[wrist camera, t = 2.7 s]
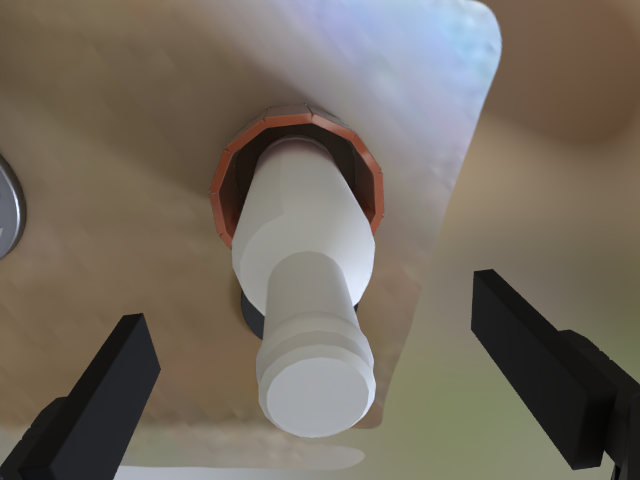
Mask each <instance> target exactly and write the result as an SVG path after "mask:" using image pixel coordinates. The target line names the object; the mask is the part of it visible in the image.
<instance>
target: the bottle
mask: <svg viewBox="0 0 640 480" xmlns="http://www.w3.org/2000/svg"><path fill="white" fill-rule="evenodd" d="M374 251H375V242H374V239H373V235H372V232H371V228H370V225H369V222H368V220H367V218H366V217H365V215H364V213H363V211H362V209H361V208H360V206H359V204H358V202H357V201H356V199H355V197H354V195H353V193H352V192H351V190H350V188H349V186H348V185H347V183H346V181H345V179H344V177H343V176H342V174H341V172H340V170H339V168H338V167H337V165H336V161H335V159H334V158H333V156H332V155H331V154H330V152H329V151H328V150H327V148H326V147H325V146H324V145H323V144H321V143H320V142H318V141H316V140H315V139H313V138H312V137H308V136H304V135H299V134H294V135H287V136H282V137H280V138H279V139H277V140H275V141H273V142H271V143H270V144H269V145H268V146H267V148H266V149H265V150H264V151H263V152H262V153H261V155H260V156H259V158H258V161H257V164H256V167H255V170H254V176H253V179H252V182H251V185H250V188H249V191H248V195H247V198H246V201H245V204H244V207H243V210H242V213H241V216H240V219H239V222H238V225H237V228H236V231H235V234H234V237H233V240H232V266H233V269H234V271H235V273H236V276H237V278H238V280H239V282H240V285H241V287H242V289H243V291H244V294H245V295H246V297H247V298H248V300H249V301H250V302H251V303H252V304H253V305H254V306H255V307H256V308H257V309H258V310H259V311H260V312H261V313H262V314H263V316H265V321H264V332H263V342H262V344H261V346H260V349H259V351H258V353H257V357H256V380H257V382H258V384H259V404H260V406H261V408H262V410H263V412H264V414H265V416H266V418H268V419H269V420H270V421H271V422H272V423H273V424H274V425H276V426H277V427H278V428H279V429H282V430H284V431H286V432H289V433H291V434H294V435H297V436H303V437H313V438H318V437H324V436H331V435H334V434H336V433H339V432H341V431H343V430H345V429H348V428H350V427H352V426H353V425H354V424H355V423H356V422H358V421H359V420H360V419H361V418H362V417H363V416H365V415H366V413H367V411H368V410H369V408H370V406H371V404H372V403H373V401H374V396H375V388H376V383H375V379H374V376H373V364H374V359H373V356H372V353H371V350H370V347H369V344H368V340H367V338H366V337H365V336H364V334H363V333H362V332H361V331H360V328H359V324H358V321H357V317H356V314H355V310H354V307H353V306H354V305H356V304H357V303H358V302H359V300H360V298H361V296H362V294H363V292H364V290H365V288H366V286H367V284H368V282H369V280H370V277H371V274H372V269H373V261H374Z"/></svg>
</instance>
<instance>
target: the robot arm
mask: <svg viewBox="0 0 640 480" xmlns="http://www.w3.org/2000/svg"><path fill="white" fill-rule="evenodd" d="M25 221H26V205H25V199H24V195H23V192H22V189H21V186H20V184H19V181H18V179H17V178H16V176H15V174H14V172H13V171H12V169H11V167H10V166H9V165H8V163H7V162H6V161H5V159H4V158H3V157H2V156H1V155H0V259H2V258H3V257H5V256H6V255H7V254H8V253H10V252H11V251H12V250H13V249H14V247H15V246H16V245H17V243H18V242H19V240H20V238H21V236H22V233H23V231H24V227H25ZM471 330H472V331H473V333H474V334H475V335H476V337H477V338H478V340H479V341H480V342H481V344H482V345H483V346H484V348H485V349H486V351H487V352H488V353H489V355H490V356H491V358H492V359H493V360H494V362H495V363H496V364H497V366H498V367H499V369H500V370H501V371H502V373H503V374H504V375H505V377H506V378H507V380H508V381H509V382H510V384H511V385H512V387H513V388H514V389H515V391H516V392H517V394H518V395H519V396H520V398H521V399H522V400H523V402H524V403H525V404H526V406H527V407H528V409H529V410H530V412H531V413H532V414H533V416H534V417H535V418H536V420H537V421H538V422H539V424H540V425H541V427H542V428H543V429H544V431H545V432H546V434H547V435H548V436H549V438H550V439H551V440H552V442H553V443H554V445H555V446H556V447H557V449H558V450H559V451H560V453H561V454H562V456H563V457H564V459H565V460H566V461H567V463H568V464H569V465H570V467H571V468H572V470H578V469H586V468H593V467H600V465H601V461H602V457H603V452H604V450H605V452H606V453H607V454H608V455H609V456H610V458H611V459H612V460H613V461H614V462H615V465H614V469H613V473H612V477H611V480H640V384H639V383H638V382H636V381H635V380H634V379H633V378H632V377H631V376H629V375H628V374H627V373H626V372H625V371H624V370H622V369H621V368H620V367H619V366H618V365H617V364H616V363H615V362H614V361H612V360H610V359H609V357H608V356H607V355H606V354H604V353H603V352H602V351H599V348H597V346H595V345H594V344H593V343H592V342H591V341H590V340H588V339H587V338H586V337H584V336H582V335H580V334H578V333H576V332H574V331H572V330H563V331H557V330H556V328H554V326H553V325H551V324H550V323H549V322H548V321H547V320H546V319H545V318H544V317H543V316H542V315H541V314H540V313H539V312H538V311H537V310H536V309H534V308H533V307H532V306H531V305H530V304H529V303H528V302H527V301H526V300H525V299H524V298H523V297H522V296H521V295H520V294H519V293H518V292H516V291H515V290H514V289H513V288H512V287H511V286H510V285H509V284H508V283H507V282H506V281H505V280H504V279H503V278H502V277H501V276H499V275H498V274H497V273H496V272H495V271H494V270H493V269H490V270H481V271H474V279H473V299H472V320H471ZM160 370H161V368H160V365H159V362H158V359H157V356H156V353H155V349H154V346H153V343H152V340H151V337H150V334H149V330H148V327H147V324H146V321H145V318H144V315H143V313H140V314H132V315H124V316H123V317H122V318H121V320H120V321H119V322H118V324H117V325H116V327H115V328H114V330H113V331H112V333H111V334H110V336H109V337H108V338H107V340H106V341H105V343H104V344H103V346H102V347H101V349H100V350H99V351H98V353H97V354H96V356H95V357H94V359H93V360H92V362H91V363H90V365H89V366H88V367H87V369H86V370H85V372H84V373H83V375H82V376H81V378H80V379H79V381H78V382H77V383H76V385H75V386H74V388H73V389H72V391H71V392H70V394H69V395H68V396H67V397H60V398H56V399H55V400H54V401H53V402H51V403H50V404H49V405H48V406H47V407H46V408H44V409H43V410H42V411H41V412H40V414H39V415H38V416H37V418H36V419H35V420H34V422H33V423H32V424H31V428H28V430H27V431H26V433H25V434H24V435H23V437H22V440H20V441H19V442H18V443H17V445H16V446H15V447H14V449H13V450H12V452H11V453H10V454H9V456H8V457H7V458H6V460H5V461H4V462H3V464H2V465H1V466H0V480H113V479H114V476H115V474H116V472H117V469H118V467H119V465H120V463H121V460H122V458H123V456H124V453H125V451H126V449H127V446H128V444H129V442H130V439H131V437H132V435H133V433H134V430H135V428H136V426H137V423H138V421H139V419H140V416H141V414H142V412H143V410H144V407H145V405H146V403H147V400H148V398H149V396H150V393H151V391H152V389H153V386H154V384H155V382H156V380H157V377H158V375H159V373H160Z"/></svg>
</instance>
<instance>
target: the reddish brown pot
mask: <svg viewBox="0 0 640 480" xmlns="http://www.w3.org/2000/svg"><path fill="white" fill-rule="evenodd" d="M305 123H313V124H315V125H317V126H319V127H321V128H324V129H326V130H328V131H330V132H332V133H334V134H337V135H339V136H341V137H343V138H344V139H345V140H346V142H347V143H348V145H349V146H350V148H351V149H352V151H353V154H354V169H355V185H354V187H353V189H352V191H351V192H352V193H353V195H354V197H355V199H356V201H357V202H358V204H359V206H360V208H361V209H362V211H363V213H364V215H365V217H366V218H367V220H368V222H369V225H370V228H371V232H372V235H373V236H374V234H375V232H376V230H377V228H378V226H379V225H380V223H381V221H382V219H383V217H384V216H383V215H382V214H384V195H383V173H382V172H381V168H380V167H379V165H378V164H377V162H376V161H375V159H374V158H373V156H372V155H371V153H370V152H369V150H368V149H367V147H366V146H365V144H364V143H363V141H362V140H361V138H360V137H359V135H358V134H357V133H356V132H355V131H353V130H352V129H351V128H350V127H348V126H347V125H346V124H345V123H344V122H342V121H341V120H340V119H339V118H337V117H335V116H333V115H330V114H328V113H326V112H324V111H322V110H320V109H318V108H315V107H313V106H311V105H309V104H307V105H306V104H305V103H304V104H295V105H286V106H277V107H270V108H269V109H266V110H265V111H263V112H262V113H261V114H260V115H258V116H257V117H256V118H255V119H253V120H252V121H251V122H250V123H248V124H247V125H246V126H244V127H243V128H242V129H241V130H240V131H239V132H238V133H237V134H236V136H235V137H234V138H233V139H232V140H231V142H230V143H229V144H228V145H227V146H226V148H225V149H224V151H223V153H222V156H221V159H220V162H219V164H218V167H217V170H216V173H215V176H214V178H213V181H212V184H211V187H210V189H209V190H210V193H209V196H210V200H211V205H212V209H213V214H214V219H215V223H216V228H217V233H218V234H220V236H219V237H220V238H221V239H222V240H223V241H224V242H225V244H226V245H227V246H228V247H229V248H230V249H231V250H232V240H233V237H234V234H235V231H236V228H237V225H238V222H239V219H240V216H241V213H242V210H243V207H244V204H245V202H244V200H243V199H242V198H241V197H240V193H239V188H238V182H237V177H236V171H235V163H236V160H237V158H238V155H239V152H240V149H241V148H242V147H243V146H244V145H246V144H247V143H248V142H249V141H251V140H252V139H253V138H255V137H256V136H257V135H258V134H260V133H261V132H262V131H264V130H265V129H266V128H270V127H279V126H287V125H296V124H305Z"/></svg>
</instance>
